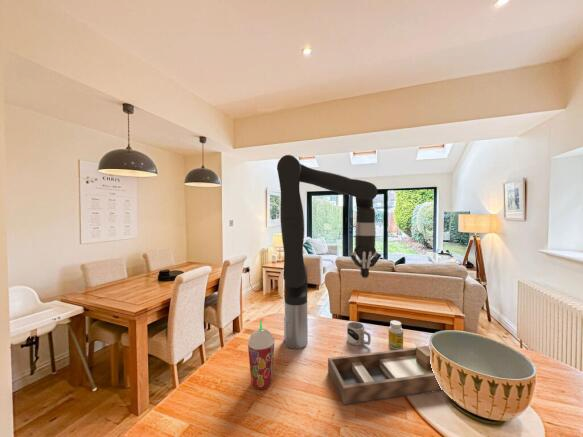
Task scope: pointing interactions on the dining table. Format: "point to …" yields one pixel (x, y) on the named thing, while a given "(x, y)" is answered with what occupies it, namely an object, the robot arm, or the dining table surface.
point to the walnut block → (423, 357)
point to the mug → (357, 334)
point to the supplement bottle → (395, 335)
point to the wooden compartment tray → (379, 376)
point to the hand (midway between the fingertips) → (364, 277)
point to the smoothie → (261, 357)
